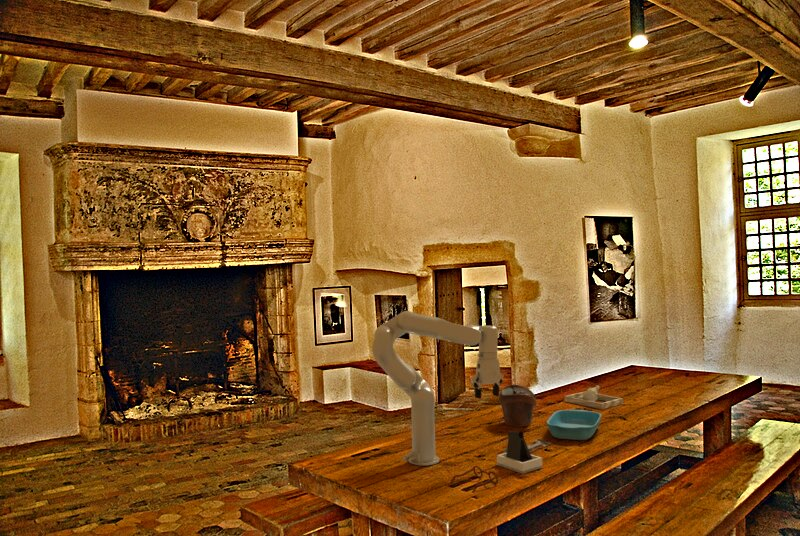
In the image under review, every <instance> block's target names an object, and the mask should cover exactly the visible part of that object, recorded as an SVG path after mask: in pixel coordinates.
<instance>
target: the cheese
mask: <svg viewBox="0 0 800 536" xmlns="http://www.w3.org/2000/svg"><path fill="white" fill-rule="evenodd" d="M600 388H601V387H600V385H596V386H595V387H589V388H588V389H586V390H585V391H583V392H584V394H583V395H581V396H579V397H578V398H579V399H584V400H589V401H594V402H597V400H598V398H597V394H599V390H600Z"/></svg>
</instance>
